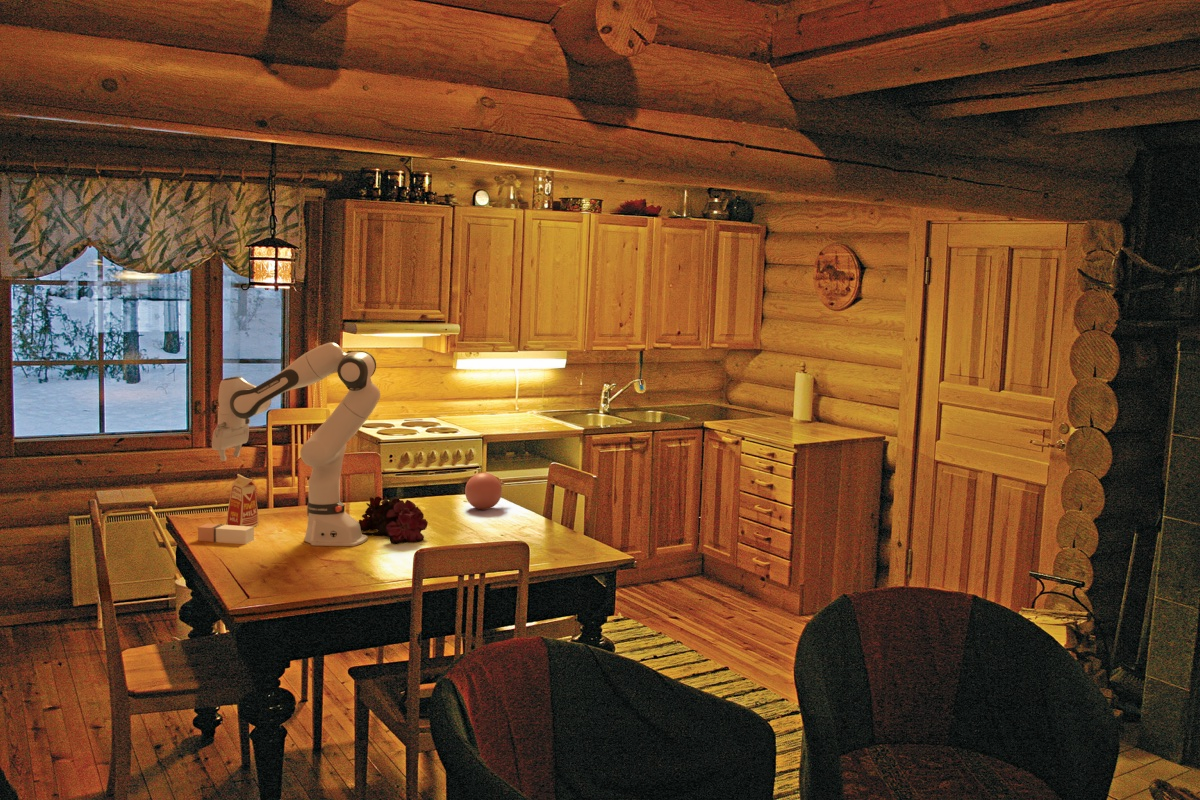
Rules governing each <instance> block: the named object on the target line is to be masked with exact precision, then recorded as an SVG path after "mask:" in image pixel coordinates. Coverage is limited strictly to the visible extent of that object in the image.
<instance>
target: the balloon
mask: <svg viewBox="0 0 1200 800" xmlns="http://www.w3.org/2000/svg"><path fill="white" fill-rule="evenodd" d="M468 479H469V480H468V481H467V482H466V484H465V487H464V494H465V498H466V501H467V502H468V503H469V504H470V505H471V506H472V507H473V508H475V509H478V510H484V511H485V510H488V509H492V508H494V506H496V505H497V504H498V503H499V502H500V499H501V498H502V494H503V490H502V489H503V488H502V485H504V484H505V482H504V481H499V479H498V478H497V477H496V476H495V475H494V474H491V473H487V472H479V473H476V474H474V475H472V476H471V477H470V478H468Z"/></svg>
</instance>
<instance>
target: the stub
mask: <svg viewBox="0 0 1200 800" xmlns="http://www.w3.org/2000/svg"><path fill="white" fill-rule="evenodd" d="M220 525H223V523H204V524H202V525H200V526H198V527H197V541H199V542H208V543H209V542H210V543H211V542H212V543H215V542H214V528H216V527H218V526H220Z"/></svg>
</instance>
